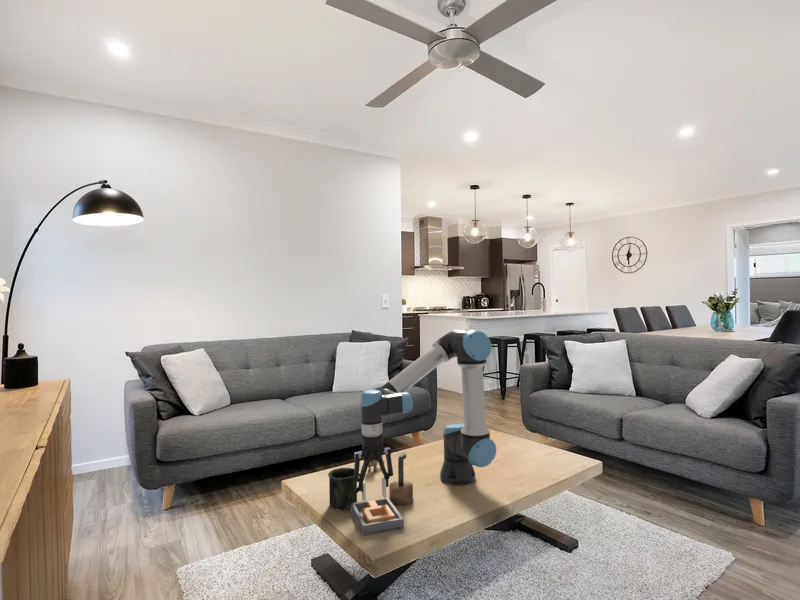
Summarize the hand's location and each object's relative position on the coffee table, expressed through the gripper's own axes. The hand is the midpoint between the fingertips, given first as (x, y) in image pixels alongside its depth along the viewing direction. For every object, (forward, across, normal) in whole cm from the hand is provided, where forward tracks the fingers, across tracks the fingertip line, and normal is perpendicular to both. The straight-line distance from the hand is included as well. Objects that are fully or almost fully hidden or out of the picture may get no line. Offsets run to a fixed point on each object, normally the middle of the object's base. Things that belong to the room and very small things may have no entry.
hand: (374, 498), depth 158 cm
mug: (+6, -8, +11) cm, 15 cm away
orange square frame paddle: (+5, -1, -4) cm, 7 cm away
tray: (+5, -1, -5) cm, 7 cm away
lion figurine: (+6, +12, +41) cm, 43 cm away
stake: (+6, +12, +6) cm, 15 cm away
